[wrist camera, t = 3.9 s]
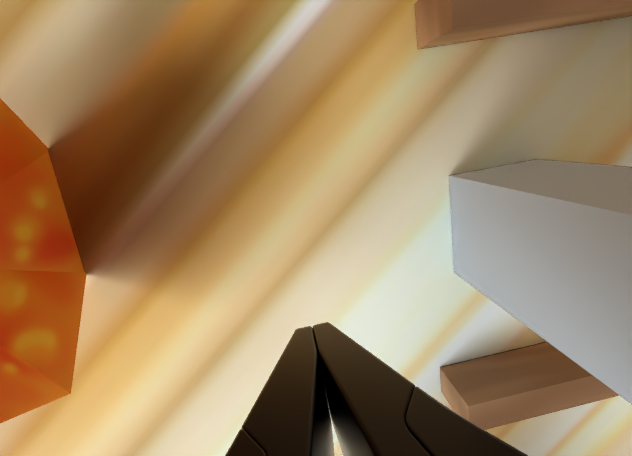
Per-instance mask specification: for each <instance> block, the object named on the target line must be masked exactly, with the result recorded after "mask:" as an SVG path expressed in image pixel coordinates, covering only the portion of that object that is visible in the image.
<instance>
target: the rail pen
mask: <svg viewBox="0 0 632 456" xmlns="http://www.w3.org/2000/svg"><path fill="white" fill-rule="evenodd" d="M628 16H632V0H419V1H417V2H416V3H415V17H416V31H417V46H418V49H423V48H429V47H436V46H442V45H448V44H455V43H461V42H468V41H474V40H480V39H487V38H493V37H500V36H506V35H513V34H519V33H525V32H532V31H538V30H545V29H551V28H557V27H564V26H570V25H577V24H583V23H589V22H596V21H602V20H609V19H615V18H621V17H628ZM440 376H441V390H442V393H443V395H444V396H445V398H446V399H447V401H448V402H449V404H450V405H451V407H452V408H453V410H454V411H455V413H456V414H458V415H460V416H461V417H463V418H465V419H466V420H468V421H470V422H471V423H473V424H475V425H476V426H478V427H479V428H481V429H483V430H485V429H489V428H493V427H497V426H501V425H505V424H509V423H513V422H517V421H520V420H524V419H528V418H532V417H536V416H540V415H544V414H548V413H552V412H556V411H560V410H564V409H567V408H571V407H575V406H579V405H583V404H587V403H591V402H595V401H599V400H603V399H607V398H611V397H615V396H618V395H619V394H617V393H616V392H615V391H613V390H612V389H611V388H609V387H608V386H606V385H605V384H604V383H602V382H601V381H600V380H598V379H597V378H596V377H594V376H593V375H592V374H590V373H589V372H588V371H586V370H585V369H584V368H582V367H581V366H579V365H578V364H577V363H575V362H574V361H573V360H571V359H570V358H569V357H567V356H566V355H565V354H563V353H562V352H561V351H559V350H558V349H557V348H555V347H554V346H552V345H551V344H550V343H548V342H546V343H542V344H537V345H533V346H529V347H525V348H521V349H516V350H512V351H508V352H504V353H499V354H495V355H491V356H487V357H482V358H478V359H474V360H470V361H466V362H461V363H457V364H453V365H449V366H444V367H440Z"/></svg>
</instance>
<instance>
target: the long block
mask: <svg viewBox="0 0 632 456" xmlns="http://www.w3.org/2000/svg"><path fill="white" fill-rule="evenodd" d="M449 187H450V206H451V226H452V246H453V265H454V273H455V274H457V275H458V276H459V277H461V278H462V279H463V280H465V281H466V282H468V283H469V284H470V285H472V286H473V287H474V288H476V289H477V290H478V291H480V292H481V293H482V294H484V295H485V296H486V297H488V298H489V299H490V300H492V301H493V302H494V303H496V304H497V305H499V306H500V307H501V308H503V309H504V310H505V311H507V312H508V313H509V314H511V315H512V316H513V317H515V318H516V319H517V320H519V321H520V322H521V323H523V324H524V325H526V326H527V327H528V328H530V329H531V330H532V331H534V332H535V333H536V334H538V335H539V336H540V337H542V338H543V339H544V340H546V341H547V342H548V343H550V344H551V345H552V346H554V347H555V348H557V349H558V350H559V351H561V352H562V353H563V354H565V355H566V356H567V357H569V358H570V359H571V360H573V361H574V362H575V363H577V364H578V365H579V366H581V367H582V368H584V369H585V370H586V371H588V372H589V373H590V374H592V375H593V376H594V377H596V378H597V379H598V380H600V381H601V382H602V383H604V384H605V385H606V386H608V387H609V388H611V389H612V390H613V391H615V392H616V393H617V394H619V395H620V396H621V397H623V398H624V399H625V400H627V401H628V402H629V403H631V404H632V167H627V166H615V165H602V164H590V163H578V162H565V161H553V160H541V159H535V160H529V161H524V162H519V163H514V164H508V165H503V166H498V167H492V168H487V169H482V170H476V171H471V172H466V173H461V174H455V175H450V176H449Z"/></svg>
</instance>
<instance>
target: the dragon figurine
mask: <svg viewBox="0 0 632 456" xmlns="http://www.w3.org/2000/svg"><path fill="white" fill-rule="evenodd" d="M85 281H86V274H85V272H84V269H83V265H82V262H81V259H80V255H79V252H78V249H77V246H76V242H75V239H74V236H73V232H72V229H71V226H70V222H69V219H68V216H67V212H66V209H65V206H64V202H63V199H62V196H61V193H60V189H59V186H58V183H57V179H56V176H55V173H54V169H53V166H52V163H51V159H50V156H49V153H48V148H47V146H46V145H45V144H44V143H43V142H42V141H41V140H40V139H39V138H38V137H37V136H36V135H35V134H34V133H33V132H32V131H31V130H30V129H29V128H28V127H27V126H26V125H25V124H24V123H23V122H22V120H21V119H20V118H19V117H18V116H17V115H16V114H15V113H14V112H13V111H12V110H11V109H10V108H9V107H8V106H7V105H6V104H5V103H4V102H3V101H2V100H1V99H0V423H2V422H4V421H7V420H9V419H11V418H14V417H16V416H18V415H21V414H23V413H25V412H28V411H30V410H33V409H35V408H37V407H40V406H42V405H44V404H47V403H49V402H51V401H54V400H56V399H59V398H61V397H63V396H66V395H68V394H70V393H71V387H72V379H73V372H74V364H75V357H76V349H77V342H78V334H79V327H80V319H81V311H82V304H83V296H84V289H85Z"/></svg>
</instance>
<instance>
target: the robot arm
mask: <svg viewBox="0 0 632 456" xmlns="http://www.w3.org/2000/svg"><path fill="white" fill-rule="evenodd" d="M329 410H330V412H329ZM330 414H331V417H330ZM331 419H332V422H333V425H334V429H335V432H336V435H337V438H338V441H339V444H340V446H341V449H342V452H343V455H344V456H528V455H526V454H524V453H523V452H521V451H519V450H518V449H516V448H514V447H512V446H511V445H509V444H507V443H505V442H504V441H502V440H500V439H499V438H497V437H495V436H493V435H492V434H490V433H488V432H486V431H485V430H483V429H481V428H479V427H478V426H476V425H475V424H473V423H471V422H470V421H468V420H466V419H465V418H463V417H461V416H460V415H458V414H456V413H455V412H453V411H452V410H450V409H449V408H447V407H446V406H444V405H443V404H441V403H440V402H438V401H437V400H435V399H434V398H432V397H431V396H430V395H428V394H427V393H425V392H424V391H423V390H421V389H420V388H419V387H415V385H414V384H413V383H411V382H410V381H409V380H407V379H406V378H405V377H403V376H402V375H400V374H399V373H398V372H396V371H395V370H394V369H392V368H391V367H389V366H388V365H387V364H385V363H384V362H383V361H381V360H380V359H378V358H377V357H376V356H374V355H373V354H372V353H370V352H369V351H367V350H366V349H365V348H363V347H362V346H360V345H359V344H358V343H356V342H355V341H354V340H352V339H351V338H349V337H348V336H347V335H345V334H344V333H343V332H341V331H340V330H338V329H337V328H336V327H334V326H333V325H332V324H330V323H328V322H326V323H321V324H317V325H314V326H313V328H312V327H311V326H308V327H304V328H299V329H296V330H295V332H294V334H293V336H292V337H291V339H290V341H289V343H288V345H287V346H286V348H285V350H284V352H283V354H282V355H281V357H280V359H279V361H278V363H277V364H276V366H275V368H274V370H273V372H272V373H271V375H270V377H269V379H268V381H267V382H266V384H265V386H264V388H263V390H262V391H261V393H260V395H259V397H258V399H257V400H256V402H255V404H254V406H253V408H252V409H251V411H250V413H249V415H248V417H247V418H246V420H245V422H244V424H243V426H242V429H241V430H240V431H239V432H238V434H237V436H236V438H235V440H234V441H233V443H232V445H231V447H230V448H229V450H228V452H227V453H226V455H225V456H334V447H333V435H332V425H331Z"/></svg>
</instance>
